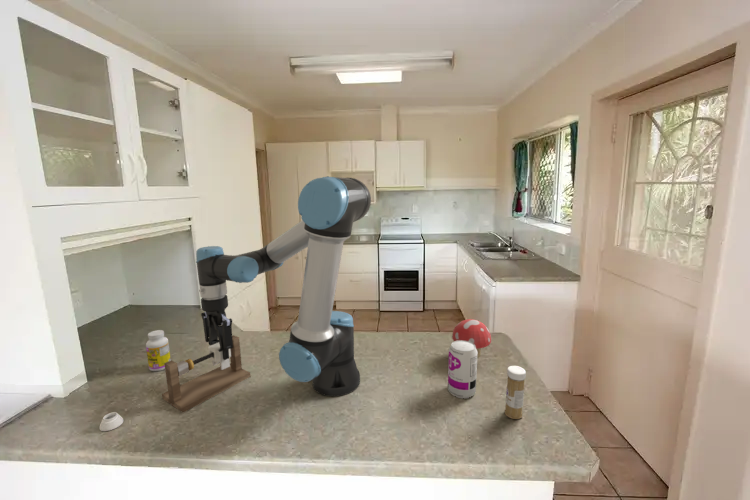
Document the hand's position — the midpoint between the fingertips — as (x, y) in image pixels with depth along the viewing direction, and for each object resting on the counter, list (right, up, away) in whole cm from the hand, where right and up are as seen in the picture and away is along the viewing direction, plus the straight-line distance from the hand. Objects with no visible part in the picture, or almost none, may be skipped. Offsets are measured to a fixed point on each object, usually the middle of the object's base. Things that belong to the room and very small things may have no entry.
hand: (221, 365), depth 111 cm
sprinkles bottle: (+87, -8, -17) cm, 89 cm away
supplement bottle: (-25, -4, +10) cm, 28 cm away
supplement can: (+76, -6, -6) cm, 76 cm away
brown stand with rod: (-3, -6, -3) cm, 7 cm away
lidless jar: (-20, -10, -20) cm, 30 cm away
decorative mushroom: (+84, -2, +12) cm, 85 cm away
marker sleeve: (0, +3, 0) cm, 3 cm away
